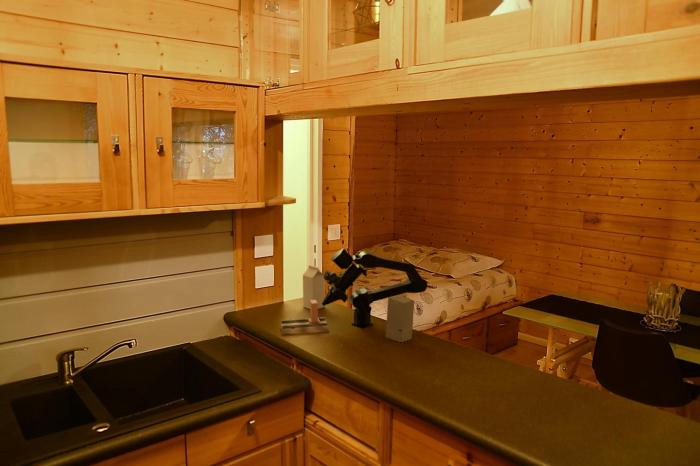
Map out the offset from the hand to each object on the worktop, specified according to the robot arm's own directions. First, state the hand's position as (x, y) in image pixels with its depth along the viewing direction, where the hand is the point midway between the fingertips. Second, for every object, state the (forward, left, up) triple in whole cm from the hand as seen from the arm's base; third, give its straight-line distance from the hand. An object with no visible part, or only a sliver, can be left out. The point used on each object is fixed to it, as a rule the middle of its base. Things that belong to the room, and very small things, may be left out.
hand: (322, 304), depth 216 cm
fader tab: (+2, +3, -7) cm, 8 cm away
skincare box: (-31, -12, -10) cm, 34 cm away
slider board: (+4, +6, -9) cm, 12 cm away
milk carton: (+23, -16, -10) cm, 30 cm away
